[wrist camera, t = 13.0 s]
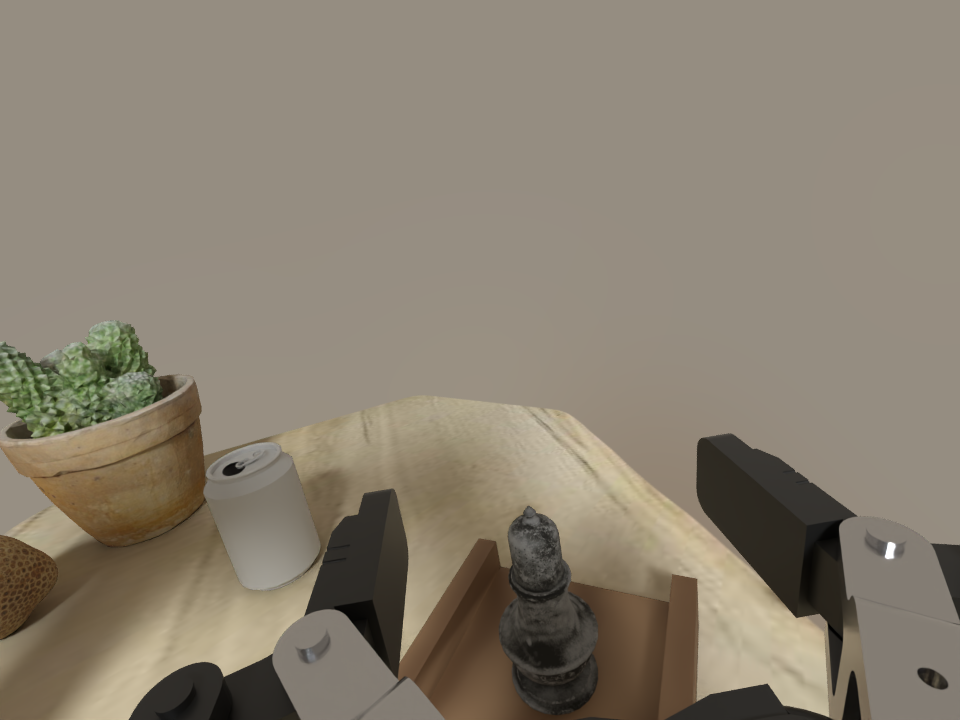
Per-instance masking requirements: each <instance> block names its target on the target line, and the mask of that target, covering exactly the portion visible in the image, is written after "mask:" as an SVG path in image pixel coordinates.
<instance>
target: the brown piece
mask: <svg viewBox="0 0 960 720" xmlns="http://www.w3.org/2000/svg"><path fill="white" fill-rule="evenodd" d="M509 570H510V569H509V568H504V567H501V566H500V561H499V556H498V551H497V545H496V541H490V540H485V539H478V541H477V542H476V544H475V546H474V547H473V549H472V550H471V552H470V553H469V555H468V557H467V558H466V560H465V561H464V563H463V564H462V566H461V568H460V569H459V571H458V572H457V574H456V575H455V577H454V579H453V580H452V582H451V583H450V585H449V586H448V588H447V590H446V591H445V593H444V594H443V596H442V597H441V599H440V601H439V602H438V604H437V605H436V607H435V608H434V610H433V612H432V613H431V615H430V616H429V618H428V619H427V621H426V623H425V624H424V626H423V627H422V629H421V630H420V632H419V634H418V635H417V637H416V638H415V640H414V641H413V643H412V645H411V646H410V648H409V649H408V651H407V652H406V654H405V656H404V657H403V659H402V660H401V662H400V663H399V673H398V680H399V681H400V680H401V679H402V678H403V677H404V676H406V677H408V678H410V679H411V680H412V681H413V682H414V683H415V684H416V685H417V686H418V687H419V689H420V690H421V691H422V692H423V693H424V695H425V696H426V697H427V698H428V699H429V701H430V702H431V703H432V704H433V705H434V707H435V708H436V709H437V710H438V711H439V713H440V714H441V715H442V716H443V717H444V719H445V720H576V719H581V718H587V717H598V718H609V719H620V720H665V719H667V718H668V717H670V716H672V715H674V714H676V713H678V712H679V711H681V710H683V709H685V708H687V707H688V706H690V705H692V704H694V703H696V695H697V661H698V628H699V624H698V591H697V579H695V578H690V577H684V576H679V575H673V574H672V582H671V592H670V603H669V602H664V601H660V600H655V599H650V598H645V597H641V596H636V595H631V594H627V593H622V592H617V591H612V590H608V589H603V588H598V587H594V586H589V585H584V584H579V583H575V582H570V584H569V587H568V591H570V592H571V593H573V594H575V595H577V596H579V597H580V598H582V599H583V600H584V601H585V602H586V603H587V604H588V605H589V606H590V608H591V609H592V611H593V612H594V614H595V617H596V620H597V623H598V640H597V643H596V646H595V649H594V651H593V652H592V654H593V655H594V657H595V660H596V663H597V667H598V682H597V686H596V689H595V692H594V693H593V695H592V697H591V698H590V700H589V701H588V702H587V703H586V704H585V705H583V706H582V707H581V708H580V709H578V710H576V711H573V712H571V713H569V714H562V715H550V714H544V713H541V712H539V711H537V710H534V709H532V708H531V707H530V706H529V705H527V704H526V703H525V702H524V701H523V700H522V699H521V697H520V696H519V695H518V693H517V691H516V689H515V686H514V684H513V680H512V664H513V662H512V661H511V660H510V659H509V658H508V656H507V655H506V654H505V652H504V651H503V648H502V646H501V643H500V640H499V624H500V619H501V616H502V615H503V613H504V611H505V609H506V607H507V606H508V605H509V604H510V603H511V602H512V601H513V600H514V599H515V598H517V594H516V593H515V592H514V591H513V590H512V588H511V586H510V584H509V579H508V575H509Z"/></svg>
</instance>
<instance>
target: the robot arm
mask: <svg viewBox="0 0 960 720" xmlns="http://www.w3.org/2000/svg"><path fill="white" fill-rule="evenodd" d="M697 496H698V499H699V502H700V505H701V507H702V509H703V511H704V512H705V513H706V515H707V516H708V517H709V518H710V519H711V520H712V521H713V523H714V524H715V525H716V526H717V527H718V528H719V530H720V531H721V532H722V533H723V534H724V535H725V536H726V538H727V539H728V540H729V541H730V542H731V543H732V544H733V545H734V547H735V548H736V549H737V550H738V551H739V553H740V554H741V555H742V556H743V557H744V558H745V559H746V560H747V562H748V563H749V564H750V565H751V566H752V567H753V569H754V570H755V571H756V572H757V573H758V574H759V576H760V577H761V578H762V579H763V580H764V581H765V582H766V584H767V585H768V586H769V587H770V588H771V589H772V590H773V592H774V593H775V594H776V595H777V596H778V597H779V598H780V600H781V601H782V602H783V603H784V604H785V605H786V607H787V608H788V609H789V610H790V611H791V612H792V613H793V615H794V616H795V617H796V618H798V617H804V616H809V615H815V614H820V615H821V616H822V617H823V618H824V619H825V620H826V625H825V633H824V635H825V652H826V668H827V684H828V700H829V717H826V716H824V715H821V714H818V713H814V712H811V711H808V710H804V709H799V708H794V707H790V706H783V705H782V704H781V702H780V701H779V699H778V698H777V697H776V695H775V694H774V692H773V691H772V689H771V688H770V686H769V685H768V684H764V685H758V686H753V687H747V688H742V689H737V690H731V691H726V692H721V693H715V694H710V695H709V696H707V697H705V698H703V699H701V700H699V701H698V702H696V703H694V704H692V705H690V706H688V707H687V708H685V709H683V710H681V711H679V712H678V713H676V714H674V715H672V716H670V717H668V718H667V719H665V720H960V545H947V544H931V543H929V541H927V540H926V539H925V538H924V537H923V536H921V535H920V534H919V533H917V532H915V531H914V530H912V529H910V528H908V527H906V526H904V525H901V524H899V523H896V522H893V521H890V520H886V519H881V518H876V517H868V516H867V517H866V516H859V517H858V516H857V515H855V514H854V513H852V512H851V511H850V510H848V509H847V508H846V507H844V506H843V505H841V504H840V503H839V502H838V501H836V500H835V499H834V498H832V497H831V496H829V495H828V494H827V493H825V492H824V491H823V490H821V489H820V488H819V487H817V486H816V485H815V484H813V483H809V481H808V479H806V478H805V477H803V476H802V475H801V474H800V473H798V472H797V473H796V472H795V470H794V469H793V468H791V467H790V466H789V465H787V464H786V463H785V462H783V461H782V460H781V459H779V458H777V457H775V456H773V455H770V454H768V453H765V452H763V451H761V450H758V449H752V448H750V447H749V446H748V445H746V444H745V443H744V442H743V441H741V440H740V439H738V438H737V437H736V436H734V435H733V434H723V435H717V436H711V437H705V438H701V439H700V440H699V441H698V445H697ZM322 563H323V565H321V567H320V570H319V573H318V576H317V579H316V582H315V585H314V588H313V591H312V594H311V597H310V600H309V603H308V606H307V609H306V612H305V615H304V617H302V618H301V619H299V620H298V621H296V622H295V623H294V624H292V625H291V626H290V627H289V628H288V629H287V630H286V631H285V632H284V633H283V634H282V636H281V637H280V639H279V640H278V642H277V644H276V646H275V649H274V652H273V654H271V655H270V656H268V657H266V658H264V659H262V660H260V661H258V662H256V663H254V664H252V665H250V666H247V667H245V668H243V669H241V670H239V671H236V672H234V673H232V674H230V675H228V676H225V677H224V676H223V674H222V672H221V670H220V668H219V667H218V666H217V665H215V664H213V663H209V662H200V663H194V664H191V665H188V666H185V667H183V668H181V669H179V670H177V671H175V672H173V673H171V674H170V675H168V676H167V677H165V678H164V679H163V680H161V681H160V682H159V683H157V684H156V685H155V686H154V687H153V688H152V689H151V690H150V691H149V692H148V693H147V694H146V695H145V696H144V697H143V699H142V700H141V701H140V702H139V704H138V705H137V707H136V708H135V710H134V711H133V713H132V715H131V717H130V718H129V720H445V719H444V717H443V716H442V715H441V714H440V713H439V711H438V710H437V709H436V708H435V707H434V705H433V704H432V703H431V702H430V701H429V699H428V698H427V697H426V696H425V695H424V693H423V692H422V691H421V690H420V689H419V687H418V686H417V685H416V684H415V683H414V682H413V681H412V680H411V679H410V678H408V677H406V676H404V677H403V678H402V679H401V680H400V681H399V680H398V673H399V661H400V650H401V639H402V628H403V616H404V605H405V594H406V583H407V571H408V546H407V539H406V535H405V530H404V526H403V522H402V517H401V513H400V509H399V504H398V500H397V496H396V492H395V490H394V489H387V490H381V491H375V492H369V493H365V494H364V495H363V498H362V502H361V506H360V510H359V513H358V515H353V516H347V517H345V518H344V519H343V520H342V521H341V522H340V524H339V525H338V526H337V527H336V528H335V529H334V531H333V532H332V534H331V537H330V540H329V543H328V546H327V552H325V555H324V558H323V561H322ZM576 720H620V719H609V718H598V717H587V718H581V719H576Z"/></svg>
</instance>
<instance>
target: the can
mask: <svg viewBox="0 0 960 720" xmlns="http://www.w3.org/2000/svg"><path fill="white" fill-rule="evenodd" d="M206 477H207V478H208V481H207V483H206V485H205V487H204V492H203V494H204V496H205V499H206V501H207V504H208V506H209V509H210V511H211V514H212V516H213V518H214V521H215V523H216V526H217V528H218V531H219V533H220V536H221V538H222V540H223V543H224V545H225V548H226V550H227V553H228V555H229V558H230V560H231V563H232V565H233V567H234V570H235V572H236V575H237V577H238V580H239V582H240V583H241V584H242V585H243V587H246V588H249V589H251V590H273V589H277V588H281V587H283V586H285V585H288V584H290V583H292V582H293V581H295V580H296V579H298V578H299V577H301V576H302V575H303V574H304V573H305V572H306V571H307V570H308V569H309V568H310V566H311V565H312V563H313V562H314V560H315V558H316V557H317V555H318V554H319V551H320V547H321V544H320V540H319V537H318V534H317V531H316V528H315V525H314V522H313V519H312V516H311V513H310V510H309V507H308V504H307V501H306V498H305V495H304V492H303V489H302V486H301V483H300V480H299V476H298V473H297V470H296V467H295V464H294V461H293V458H292V456H290V455H289V454H287V453H285V452H282V449H281V446H280V445H279V444H277V443H272V442H264V443H257V444H252V445H248V446H245V447H242V448H239V449H237V450H234V451H232V452H230V453H228V454H226V455H224V456H223V457H221V458H219V459H218V460H216V461H215V462H214V463H213V464H211V465H210V467H209V468H208V469H207V471H206Z"/></svg>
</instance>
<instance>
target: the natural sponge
mask: <svg viewBox="0 0 960 720" xmlns="http://www.w3.org/2000/svg"><path fill="white" fill-rule="evenodd" d="M57 577H58V568H57V566H56V563H55V562H54V560H53V559H52V558H51V557H50V556H48V555H47V554H46V553H44V552H42V551H40V550H38V549H35V548H33V547H31V546H29V545H27V544H25V543H24V542H22V541H20V540H17V539H15V538H11V537H8V536H3V535H0V640H1V639H3V638H5V637H7V636H8V635H10V634H11V633H13V632H14V631H15V630H17V629H18V628H19V627H20V626H21V625H22V624H23V623H24V622H25V621H26V620H27V619H28V617H29V615H30V614H31V612H32V611H33V609H34V608H35V607H36V606H37V604H38V603H40V602H41V601H42V600H43V598H44V597H45V596H46V595H47V594H48V593H49V592H50V590H51V589H52V588H53V587H54V585H55V583H56V581H57Z"/></svg>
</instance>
